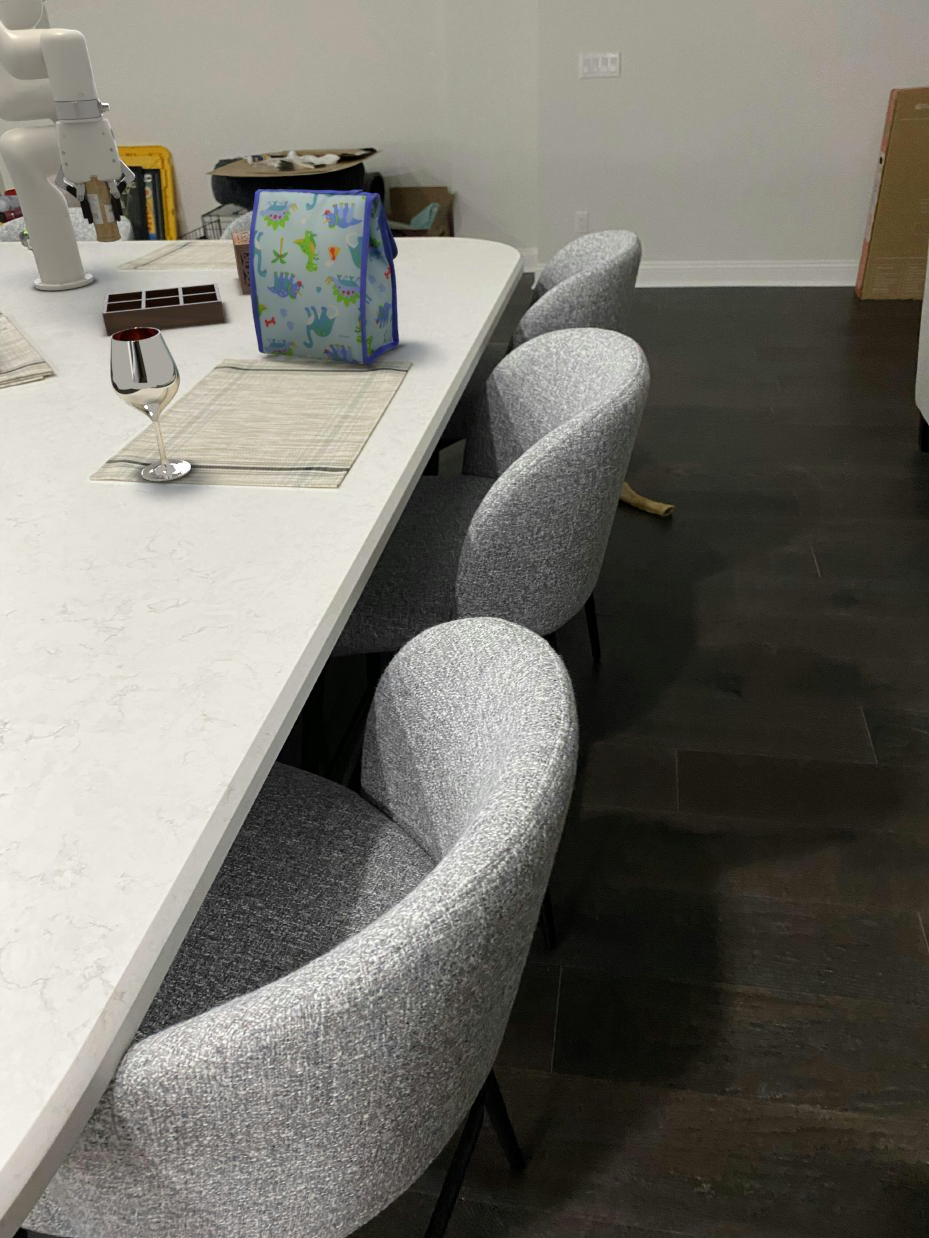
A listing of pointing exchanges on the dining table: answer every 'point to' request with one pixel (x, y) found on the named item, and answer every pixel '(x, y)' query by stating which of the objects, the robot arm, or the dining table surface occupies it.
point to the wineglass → (147, 387)
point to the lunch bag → (323, 275)
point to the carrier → (163, 308)
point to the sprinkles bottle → (101, 209)
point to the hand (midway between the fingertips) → (104, 220)
